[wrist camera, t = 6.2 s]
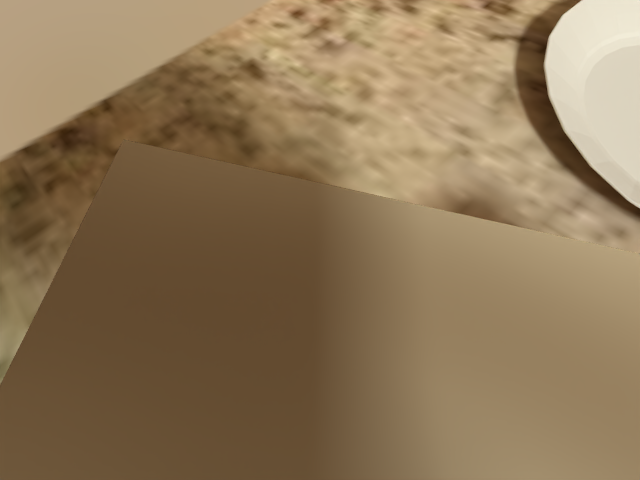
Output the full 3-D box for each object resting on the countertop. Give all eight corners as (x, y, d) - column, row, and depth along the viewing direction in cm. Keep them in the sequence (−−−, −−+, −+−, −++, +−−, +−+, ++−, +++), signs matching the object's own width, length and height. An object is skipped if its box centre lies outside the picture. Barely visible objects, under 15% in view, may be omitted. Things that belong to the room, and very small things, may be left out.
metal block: (360, 571, 13) (837, 1383, 2) (192, 531, 13) (-343, 1067, 2) (384, 393, 15) (670, 260, 4) (240, 360, 15) (123, 140, 4)
